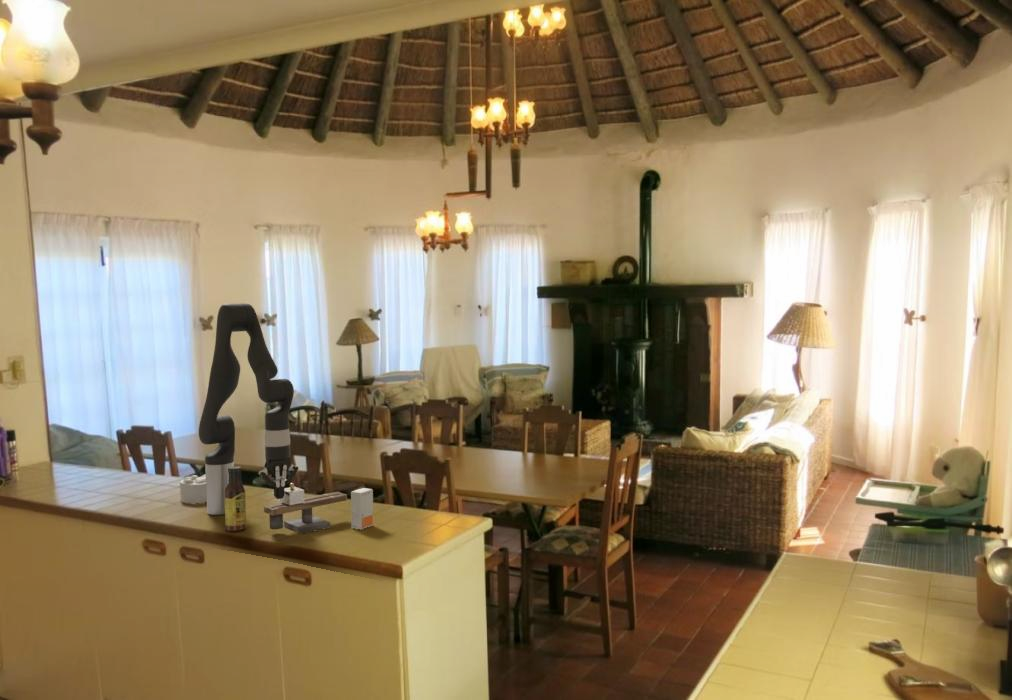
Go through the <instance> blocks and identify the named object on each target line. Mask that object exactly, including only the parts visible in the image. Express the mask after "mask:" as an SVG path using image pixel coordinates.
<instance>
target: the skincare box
mask: <svg viewBox="0 0 1012 700" xmlns="http://www.w3.org/2000/svg"><path fill="white" fill-rule="evenodd" d="M373 492H374V490H373V489H372V488H367V487H362V488H359V489H355V490H353V491H351V492H350V512H351V513H350V517H351V518H350V525H351V529H353V528H355V529H354V530H358V529H360V530H359V531H362V530H364V528H365V529H368V528H370V527H373V526H374V493H373ZM367 527H368V528H367ZM361 529H362V530H361Z"/></svg>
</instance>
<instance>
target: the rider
mask: <svg viewBox="0 0 1012 700" xmlns="http://www.w3.org/2000/svg"><path fill="white" fill-rule="evenodd" d="M304 498H305V489H302V488H300V487H298V486H297V487H296V486H295V483H294V482H290V483H289V487H284V496H283V498H282V499H279V500H280V502H279V503H285V504H287V505H294V504H299V503H304Z"/></svg>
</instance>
